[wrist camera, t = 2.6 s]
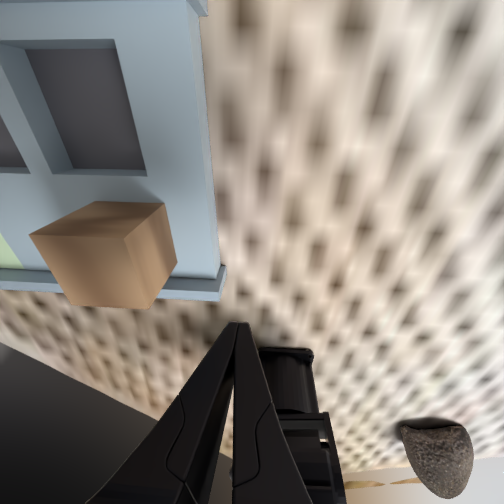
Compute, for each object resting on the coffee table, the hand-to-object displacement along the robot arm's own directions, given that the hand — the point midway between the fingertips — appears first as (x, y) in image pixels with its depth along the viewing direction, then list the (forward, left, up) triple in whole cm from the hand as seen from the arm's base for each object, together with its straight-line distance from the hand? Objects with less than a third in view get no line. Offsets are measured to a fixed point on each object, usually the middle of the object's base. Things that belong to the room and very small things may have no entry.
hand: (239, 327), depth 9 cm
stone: (-28, +35, -10) cm, 47 cm away
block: (+9, 0, -8) cm, 12 cm away
